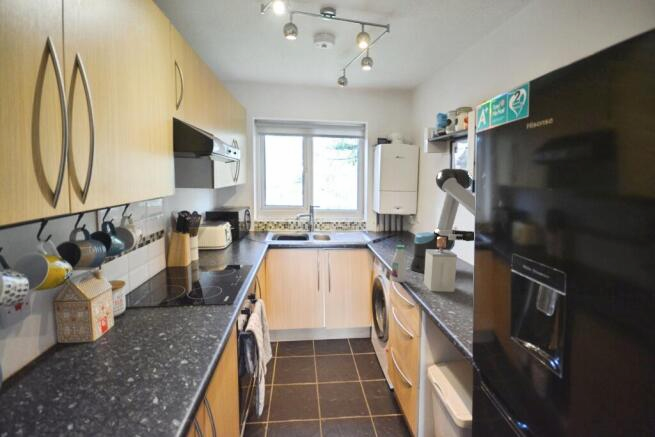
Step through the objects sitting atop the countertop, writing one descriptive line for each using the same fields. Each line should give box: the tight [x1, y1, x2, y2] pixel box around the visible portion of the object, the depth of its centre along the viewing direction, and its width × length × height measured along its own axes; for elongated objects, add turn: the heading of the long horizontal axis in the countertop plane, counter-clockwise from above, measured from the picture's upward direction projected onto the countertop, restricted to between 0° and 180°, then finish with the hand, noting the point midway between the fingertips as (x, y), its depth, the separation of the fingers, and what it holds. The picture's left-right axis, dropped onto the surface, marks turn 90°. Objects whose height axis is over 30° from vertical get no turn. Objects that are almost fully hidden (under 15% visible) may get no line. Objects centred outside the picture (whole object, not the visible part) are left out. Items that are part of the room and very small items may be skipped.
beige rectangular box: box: [423, 249, 458, 293], centre depth 167 cm, size 16×12×19 cm
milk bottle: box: [391, 244, 407, 283], centre depth 179 cm, size 8×8×20 cm
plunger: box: [437, 237, 446, 253], centre depth 168 cm, size 7×7×26 cm
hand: (444, 234), depth 166 cm, fingers open, 13 cm apart
